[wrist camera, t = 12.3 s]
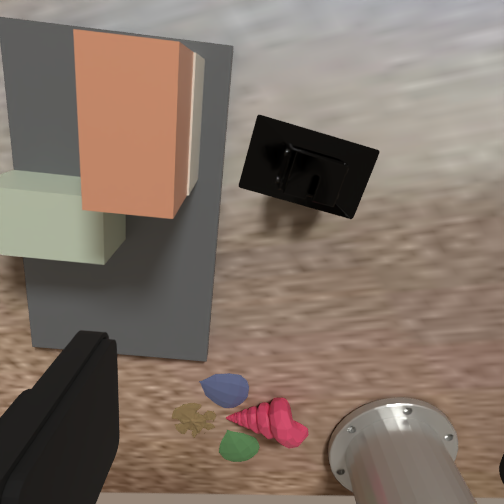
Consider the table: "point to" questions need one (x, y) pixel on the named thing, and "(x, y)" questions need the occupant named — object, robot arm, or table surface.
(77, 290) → the baseplate
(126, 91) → the terracotta brick
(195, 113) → the cream brick
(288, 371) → the table surface
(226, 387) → the toy pieces
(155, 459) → the table surface
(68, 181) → the sage brick
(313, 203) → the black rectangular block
